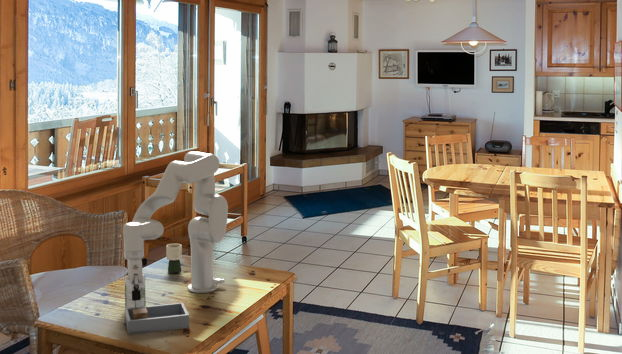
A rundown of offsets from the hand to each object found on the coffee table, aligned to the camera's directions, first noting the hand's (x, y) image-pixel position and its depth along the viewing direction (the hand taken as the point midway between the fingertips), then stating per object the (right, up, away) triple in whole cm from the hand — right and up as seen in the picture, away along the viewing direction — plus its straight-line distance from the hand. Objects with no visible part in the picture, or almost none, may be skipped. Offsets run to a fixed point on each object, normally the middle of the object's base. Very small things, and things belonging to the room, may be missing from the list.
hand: (135, 296), depth 281 cm
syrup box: (0, -6, +1) cm, 6 cm away
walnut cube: (+6, -7, -16) cm, 19 cm away
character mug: (+6, +3, +50) cm, 50 cm away
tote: (+12, -8, -14) cm, 20 cm away
